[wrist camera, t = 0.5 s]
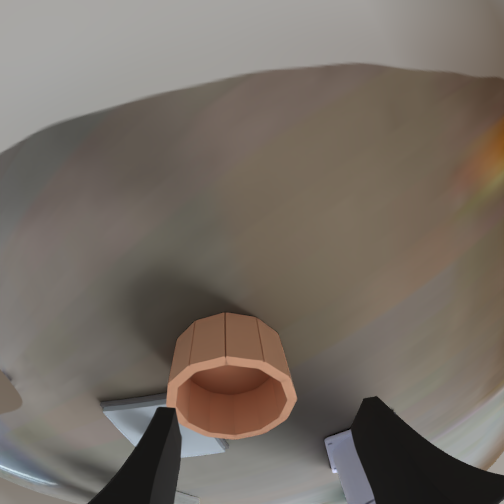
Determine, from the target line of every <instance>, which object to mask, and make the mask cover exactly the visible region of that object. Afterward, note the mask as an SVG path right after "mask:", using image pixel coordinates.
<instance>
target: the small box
mask: <svg viewBox="0 0 504 504" xmlns="http://www.w3.org/2000/svg"><path fill="white" fill-rule="evenodd" d="M174 504H199V498H198V497H195V496H191V495H187V494H184V493H181V492H177V491H176V493H175V500H174Z"/></svg>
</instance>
